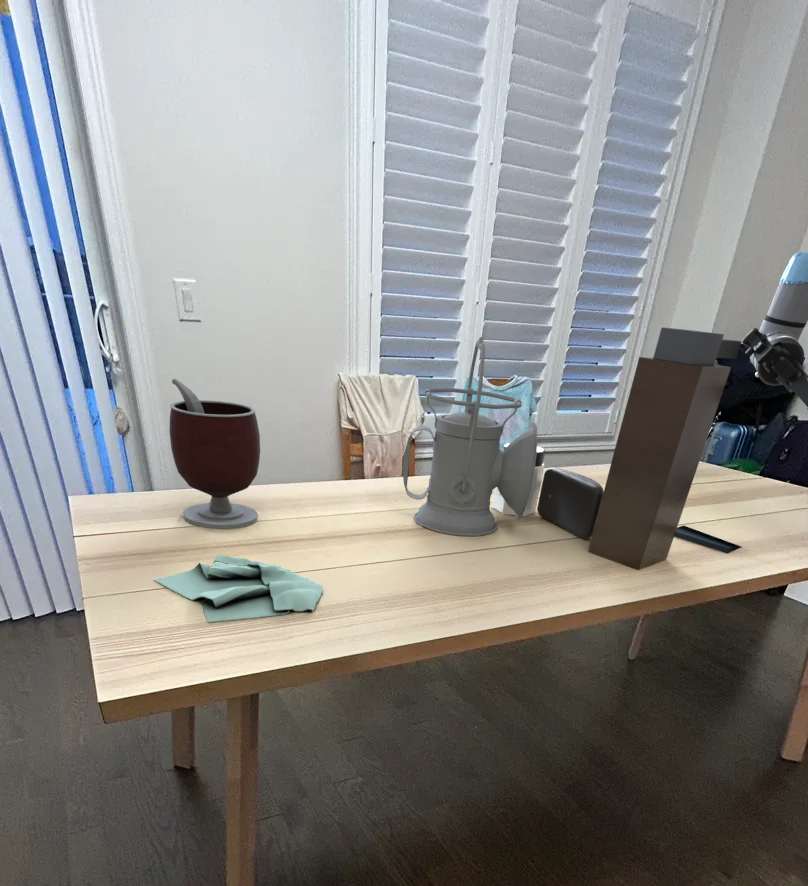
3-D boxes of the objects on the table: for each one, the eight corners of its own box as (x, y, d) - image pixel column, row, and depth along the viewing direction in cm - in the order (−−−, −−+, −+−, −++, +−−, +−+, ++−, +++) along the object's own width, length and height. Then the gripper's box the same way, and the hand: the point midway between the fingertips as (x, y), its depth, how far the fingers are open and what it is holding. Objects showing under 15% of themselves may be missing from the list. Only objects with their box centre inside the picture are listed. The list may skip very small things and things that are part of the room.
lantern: (522, 547, 110) (562, 349, 93) (396, 534, 109) (414, 332, 93) (508, 511, 128) (539, 339, 111) (399, 500, 127) (415, 326, 110)
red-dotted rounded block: (604, 540, 118) (618, 488, 112) (585, 542, 116) (598, 489, 111) (551, 513, 129) (562, 465, 124) (533, 514, 128) (543, 465, 122)
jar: (485, 504, 131) (494, 442, 124) (518, 503, 134) (530, 442, 127) (506, 517, 124) (518, 453, 117) (541, 516, 127) (555, 453, 120)
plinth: (616, 542, 117) (669, 357, 101) (666, 559, 112) (731, 367, 95) (587, 551, 111) (638, 356, 95) (638, 570, 106) (702, 366, 89)
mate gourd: (279, 518, 111) (276, 391, 100) (220, 536, 101) (210, 397, 90) (215, 498, 117) (206, 376, 106) (154, 513, 107) (136, 380, 96)
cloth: (335, 617, 80) (335, 599, 79) (151, 625, 74) (148, 606, 73) (308, 558, 96) (308, 543, 95) (155, 561, 90) (153, 544, 89)
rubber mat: (702, 522, 134) (704, 518, 134) (759, 539, 128) (761, 534, 127) (668, 534, 125) (669, 529, 124) (727, 553, 118) (729, 548, 117)
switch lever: (709, 360, 106) (718, 332, 104) (745, 365, 103) (755, 336, 100) (652, 358, 94) (661, 327, 91) (690, 364, 90) (700, 332, 88)
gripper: (804, 420, 124) (823, 454, 108) (714, 331, 120) (721, 353, 104) (842, 387, 119) (868, 417, 104) (750, 293, 115) (763, 310, 99)
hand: (794, 385), depth 104 cm, fingers open, 13 cm apart
